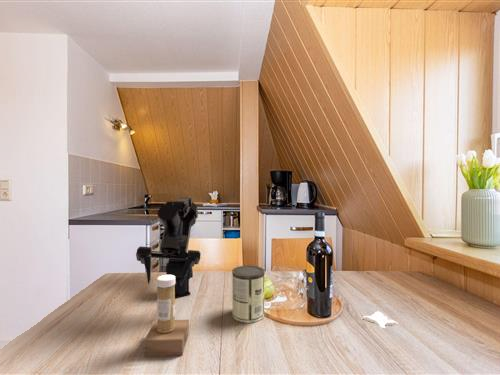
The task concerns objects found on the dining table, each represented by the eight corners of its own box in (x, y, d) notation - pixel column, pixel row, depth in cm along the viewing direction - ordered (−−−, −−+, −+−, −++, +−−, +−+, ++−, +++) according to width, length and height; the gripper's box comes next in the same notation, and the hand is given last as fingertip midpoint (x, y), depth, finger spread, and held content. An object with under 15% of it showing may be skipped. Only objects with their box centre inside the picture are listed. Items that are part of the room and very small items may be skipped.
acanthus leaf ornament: (362, 321, 80) (362, 315, 80) (375, 315, 84) (375, 309, 84) (385, 332, 74) (385, 326, 74) (398, 325, 78) (398, 319, 78)
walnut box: (155, 335, 71) (155, 320, 71) (188, 334, 71) (188, 319, 71) (143, 356, 62) (144, 340, 62) (182, 355, 63) (182, 338, 62)
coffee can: (240, 304, 89) (241, 263, 89) (269, 310, 85) (269, 267, 85) (225, 318, 80) (226, 272, 80) (256, 326, 76) (256, 278, 76)
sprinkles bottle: (179, 326, 68) (179, 275, 68) (166, 336, 64) (167, 281, 63) (165, 322, 70) (165, 272, 69) (152, 331, 65) (152, 278, 65)
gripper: (140, 220, 76) (128, 275, 68) (204, 227, 81) (200, 278, 72) (142, 236, 85) (131, 285, 76) (199, 240, 90) (195, 288, 81)
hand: (165, 284), depth 76 cm, fingers open, 9 cm apart
